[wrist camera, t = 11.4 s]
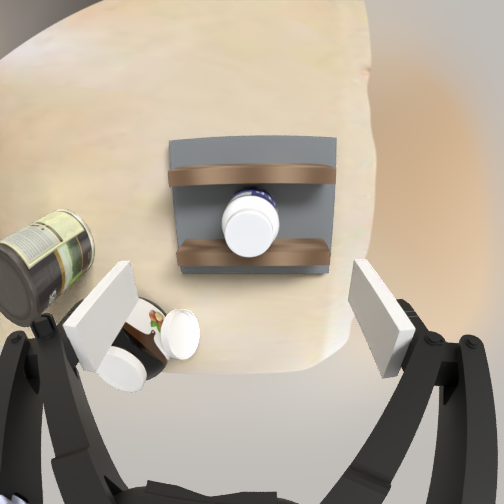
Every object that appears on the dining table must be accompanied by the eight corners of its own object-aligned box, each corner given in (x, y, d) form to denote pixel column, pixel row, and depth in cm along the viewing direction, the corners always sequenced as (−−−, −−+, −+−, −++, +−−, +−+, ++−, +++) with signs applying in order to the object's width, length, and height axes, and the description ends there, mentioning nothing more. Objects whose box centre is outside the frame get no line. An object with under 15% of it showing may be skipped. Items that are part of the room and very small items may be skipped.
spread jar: (109, 307, 39) (73, 357, 29) (153, 267, 36) (116, 318, 26) (165, 357, 43) (144, 413, 32) (214, 327, 40) (200, 389, 29)
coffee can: (107, 258, 36) (50, 316, 23) (66, 282, 38) (14, 334, 25) (71, 194, 32) (-1, 229, 20) (34, 227, 35) (-28, 266, 22)
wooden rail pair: (186, 251, 34) (178, 265, 30) (179, 166, 30) (167, 171, 26) (322, 250, 33) (329, 265, 29) (327, 164, 29) (336, 168, 26)
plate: (184, 269, 36) (181, 273, 35) (172, 140, 30) (169, 140, 29) (326, 268, 35) (328, 273, 34) (333, 137, 29) (336, 137, 28)
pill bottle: (285, 215, 32) (293, 245, 23) (246, 239, 33) (241, 276, 25) (259, 175, 30) (257, 191, 22) (219, 201, 31) (203, 227, 23)
